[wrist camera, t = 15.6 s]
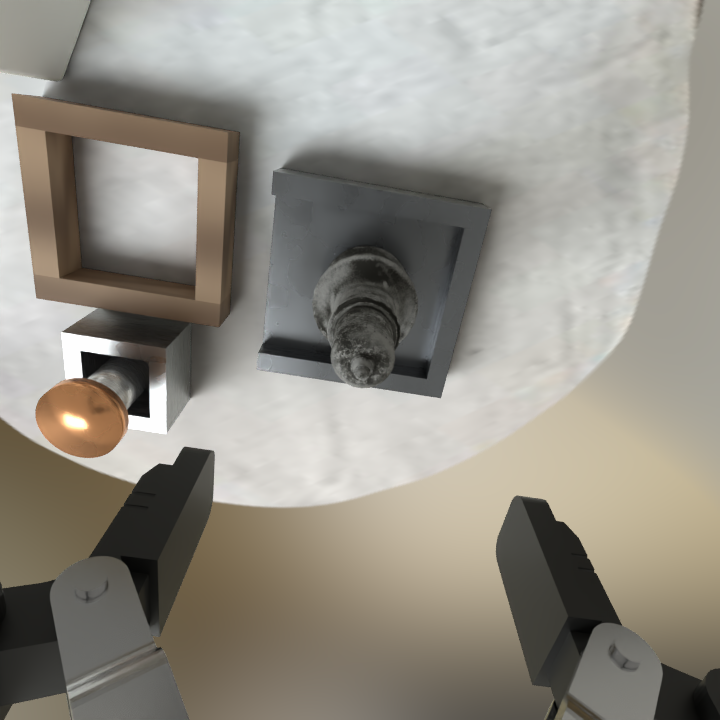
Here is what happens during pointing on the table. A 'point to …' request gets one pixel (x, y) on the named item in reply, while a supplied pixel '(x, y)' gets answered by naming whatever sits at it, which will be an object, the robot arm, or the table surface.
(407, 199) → the tray
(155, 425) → the housing
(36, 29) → the medicine bottle
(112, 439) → the copper mushroom knob
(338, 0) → the table surface
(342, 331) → the dark grey chess piece
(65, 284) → the socket collar
